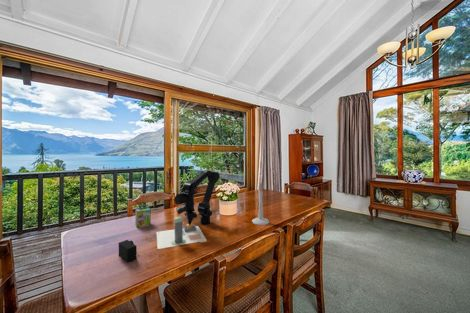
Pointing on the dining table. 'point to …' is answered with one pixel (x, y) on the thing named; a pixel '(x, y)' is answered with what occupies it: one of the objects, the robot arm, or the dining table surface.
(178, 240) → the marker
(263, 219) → the candlestick
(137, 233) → the dining table surface
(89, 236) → the dining table surface
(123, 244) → the digital camera
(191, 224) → the button
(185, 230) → the button housing
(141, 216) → the chalk box
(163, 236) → the colouring board
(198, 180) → the robot arm
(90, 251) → the dining table surface
